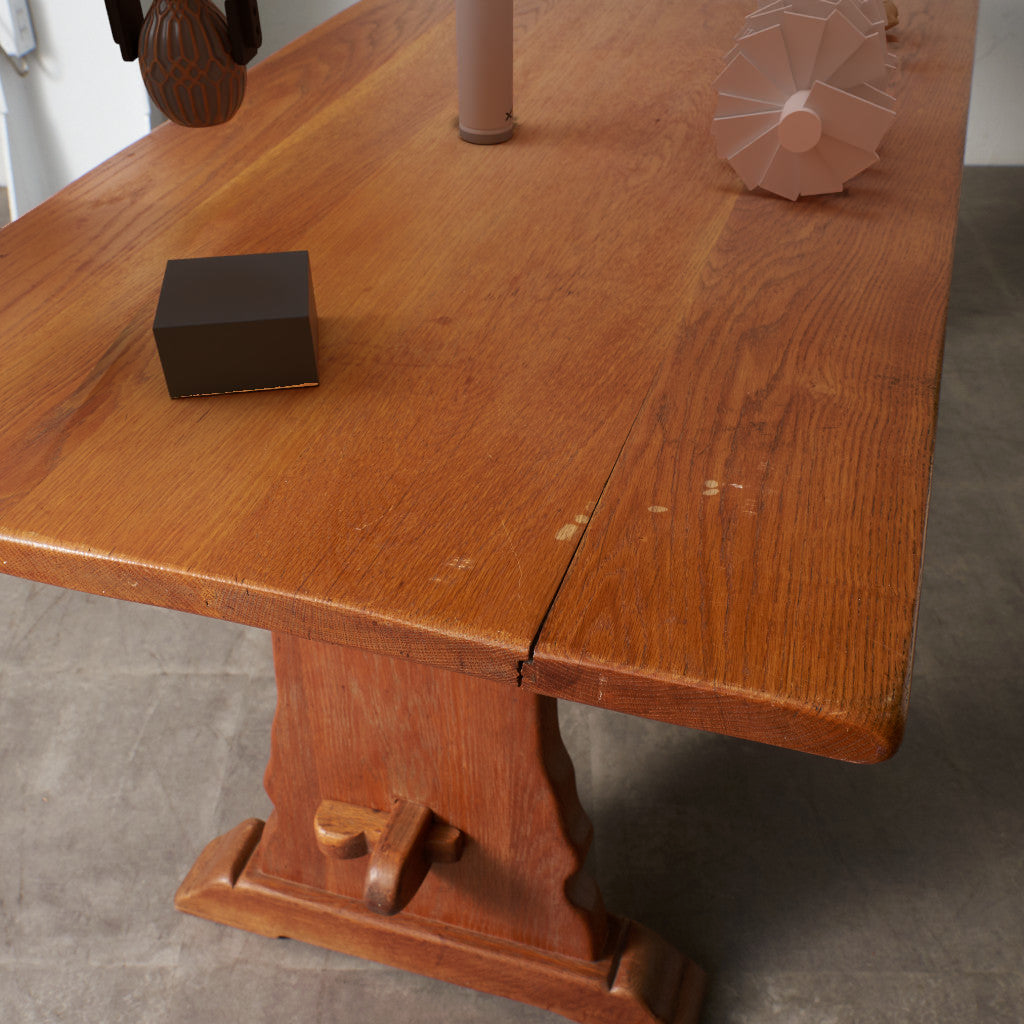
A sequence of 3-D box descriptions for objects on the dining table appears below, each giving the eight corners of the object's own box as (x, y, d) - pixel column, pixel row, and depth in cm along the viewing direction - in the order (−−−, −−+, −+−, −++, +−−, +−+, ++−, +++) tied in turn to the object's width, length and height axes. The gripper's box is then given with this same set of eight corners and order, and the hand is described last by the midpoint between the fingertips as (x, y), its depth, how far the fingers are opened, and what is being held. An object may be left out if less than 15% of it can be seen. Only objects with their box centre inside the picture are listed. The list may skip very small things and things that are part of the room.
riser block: (170, 399, 75) (151, 328, 71) (183, 326, 83) (167, 259, 80) (319, 386, 76) (309, 315, 73) (317, 316, 85) (308, 249, 81)
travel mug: (524, 139, 117) (526, -56, 104) (472, 148, 115) (467, -50, 102) (501, 122, 121) (500, -66, 108) (451, 131, 119) (444, -61, 106)
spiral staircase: (735, 241, 105) (757, 145, 123) (913, 187, 97) (909, 93, 114) (675, 72, 96) (708, -5, 113) (867, -4, 87) (870, -75, 105)
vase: (254, 132, 68) (232, -11, 62) (148, 139, 67) (116, -6, 61) (253, 99, 73) (232, -35, 68) (155, 105, 72) (125, -31, 66)
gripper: (-58, -279, 54) (41, 70, 65) (260, -278, 53) (304, 79, 64) (9, -284, 60) (90, 38, 71) (297, -283, 58) (332, 45, 70)
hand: (191, 55), depth 67 cm, fingers closed on vase, 6 cm apart
